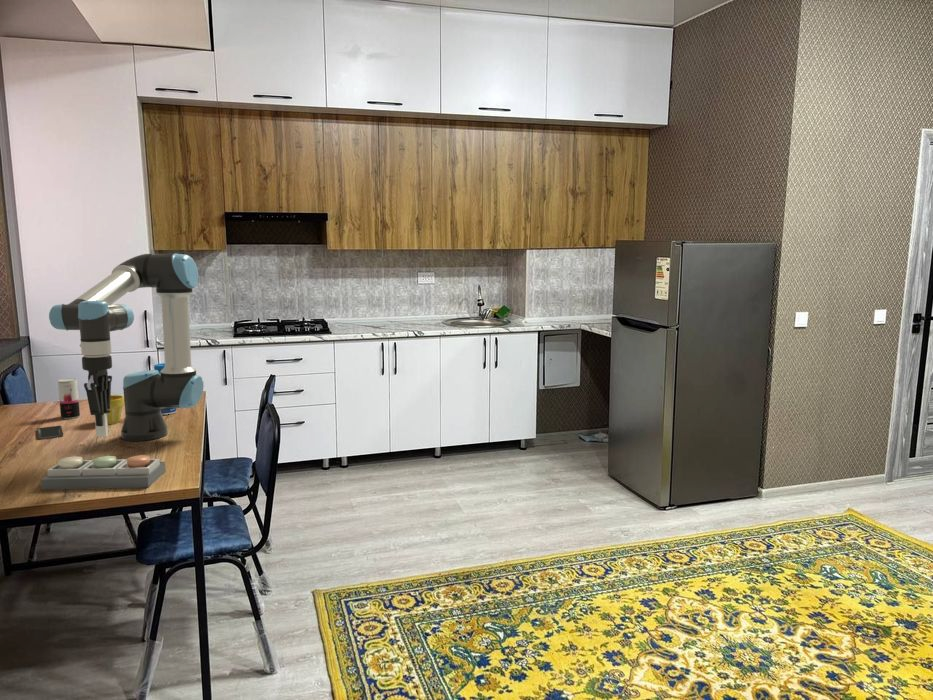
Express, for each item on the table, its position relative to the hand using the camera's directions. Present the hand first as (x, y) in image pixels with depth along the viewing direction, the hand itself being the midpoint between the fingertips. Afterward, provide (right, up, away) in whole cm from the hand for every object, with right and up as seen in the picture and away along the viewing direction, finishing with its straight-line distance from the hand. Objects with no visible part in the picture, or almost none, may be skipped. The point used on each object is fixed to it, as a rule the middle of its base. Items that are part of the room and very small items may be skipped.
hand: (102, 436), depth 201 cm
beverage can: (-52, -2, +74) cm, 91 cm away
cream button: (-10, -9, +1) cm, 13 cm away
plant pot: (-32, -3, +67) cm, 74 cm away
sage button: (0, -9, +1) cm, 9 cm away
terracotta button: (+9, -9, +2) cm, 13 cm away
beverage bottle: (-17, -1, +82) cm, 84 cm away
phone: (-46, -6, +51) cm, 69 cm away
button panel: (0, -13, +2) cm, 13 cm away
